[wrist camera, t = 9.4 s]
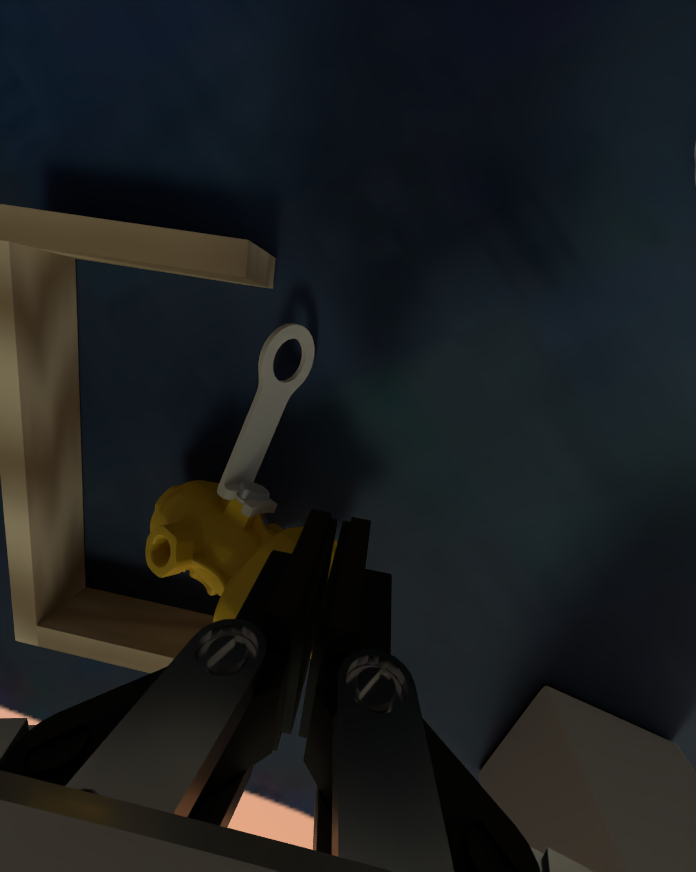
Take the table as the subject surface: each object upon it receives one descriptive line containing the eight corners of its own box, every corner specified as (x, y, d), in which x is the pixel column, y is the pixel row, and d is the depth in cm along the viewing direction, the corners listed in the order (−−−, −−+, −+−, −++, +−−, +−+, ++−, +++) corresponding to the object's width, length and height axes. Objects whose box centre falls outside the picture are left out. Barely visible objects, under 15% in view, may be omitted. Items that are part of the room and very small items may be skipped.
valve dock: (48, 224, 17) (-25, 200, 14) (275, 258, 16) (248, 239, 13) (66, 600, 22) (15, 640, 19) (238, 640, 21) (213, 688, 18)
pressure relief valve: (92, 561, 15) (260, 765, 11) (199, 277, 14) (447, 365, 9) (202, 542, 20) (352, 676, 15) (291, 329, 19) (484, 405, 14)
